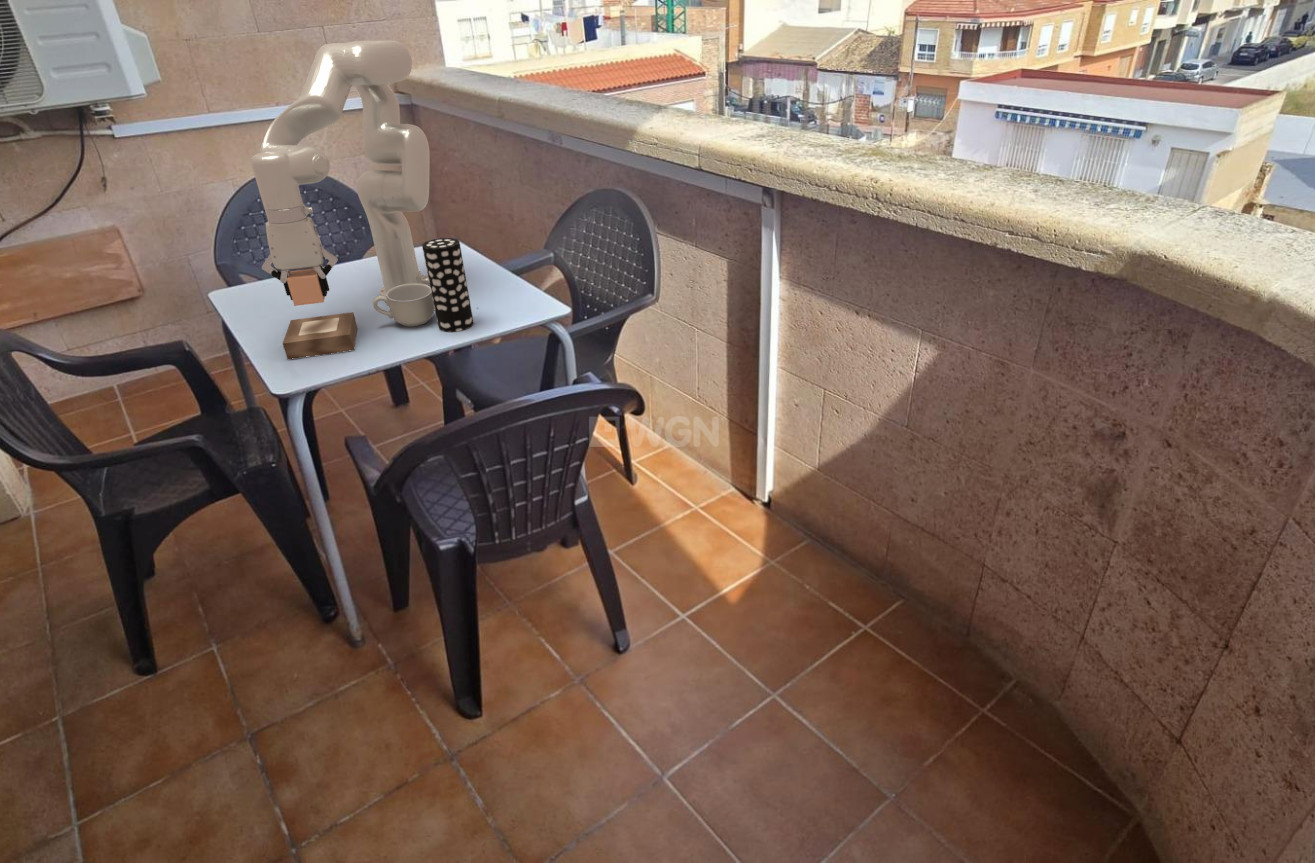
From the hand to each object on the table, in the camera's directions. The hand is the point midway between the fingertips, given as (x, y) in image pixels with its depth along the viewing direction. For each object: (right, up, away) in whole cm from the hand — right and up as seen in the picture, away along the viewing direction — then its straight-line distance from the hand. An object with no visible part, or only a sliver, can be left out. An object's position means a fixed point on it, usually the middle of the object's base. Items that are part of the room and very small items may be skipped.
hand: (309, 295), depth 163 cm
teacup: (+17, -4, +16) cm, 23 cm away
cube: (0, -1, 0) cm, 1 cm away
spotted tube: (+29, -5, +13) cm, 32 cm away
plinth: (0, -10, +6) cm, 12 cm away
